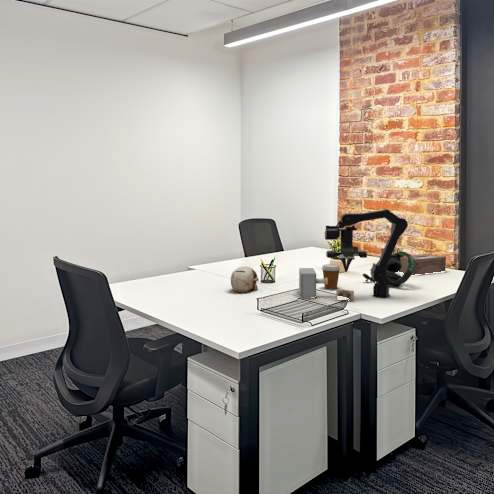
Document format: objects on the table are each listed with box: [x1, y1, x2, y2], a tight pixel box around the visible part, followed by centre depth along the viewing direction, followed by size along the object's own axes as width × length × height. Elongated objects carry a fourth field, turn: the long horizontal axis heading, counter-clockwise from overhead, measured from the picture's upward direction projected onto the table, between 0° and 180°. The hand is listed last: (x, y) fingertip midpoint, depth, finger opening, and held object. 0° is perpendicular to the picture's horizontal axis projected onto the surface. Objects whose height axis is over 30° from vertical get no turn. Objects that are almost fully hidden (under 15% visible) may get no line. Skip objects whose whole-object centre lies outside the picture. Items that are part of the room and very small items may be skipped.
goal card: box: [335, 288, 355, 303], centre depth 244 cm, size 8×1×5 cm, turn 63°
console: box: [298, 267, 317, 299], centre depth 258 cm, size 8×16×12 cm, turn 178°
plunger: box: [316, 278, 328, 285], centre depth 254 cm, size 6×3×3 cm, turn 88°
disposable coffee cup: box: [321, 263, 341, 290], centre depth 273 cm, size 10×10×12 cm
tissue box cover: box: [399, 253, 447, 275], centre depth 318 cm, size 26×14×10 cm, turn 115°
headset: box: [362, 251, 414, 287], centre depth 279 cm, size 18×14×29 cm
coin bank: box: [230, 265, 260, 293], centre depth 270 cm, size 16×17×13 cm
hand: (346, 271), depth 253 cm, fingers closed
